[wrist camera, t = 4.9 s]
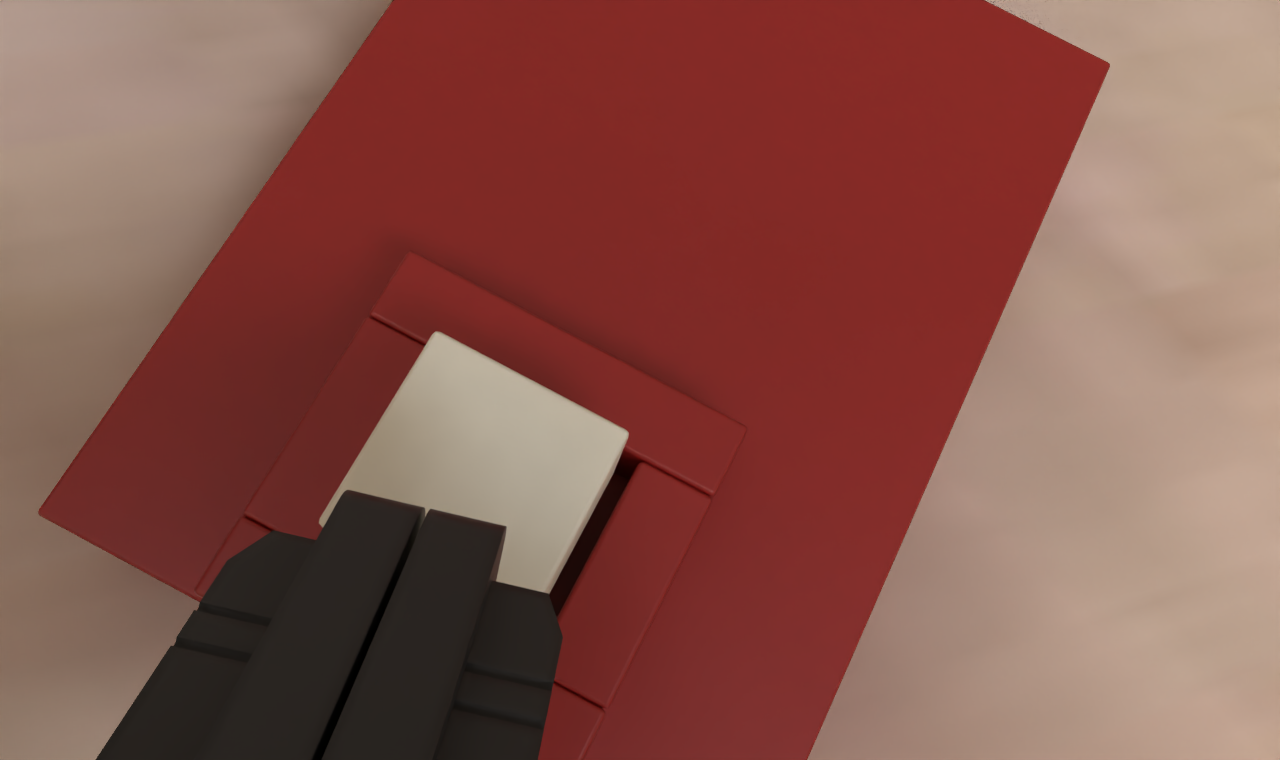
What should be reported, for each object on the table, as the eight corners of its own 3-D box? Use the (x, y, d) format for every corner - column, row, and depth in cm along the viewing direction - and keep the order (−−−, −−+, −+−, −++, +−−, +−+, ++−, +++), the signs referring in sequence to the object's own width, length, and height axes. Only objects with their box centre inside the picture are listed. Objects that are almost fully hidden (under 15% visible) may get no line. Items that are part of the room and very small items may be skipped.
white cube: (346, 550, 16) (315, 522, 13) (447, 382, 17) (434, 327, 14) (522, 644, 16) (523, 634, 13) (614, 470, 17) (631, 431, 14)
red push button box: (108, 542, 20) (-21, 490, 15) (542, -107, 25) (548, -303, 20) (711, 868, 19) (774, 922, 15) (1036, 144, 24) (1165, 5, 19)
